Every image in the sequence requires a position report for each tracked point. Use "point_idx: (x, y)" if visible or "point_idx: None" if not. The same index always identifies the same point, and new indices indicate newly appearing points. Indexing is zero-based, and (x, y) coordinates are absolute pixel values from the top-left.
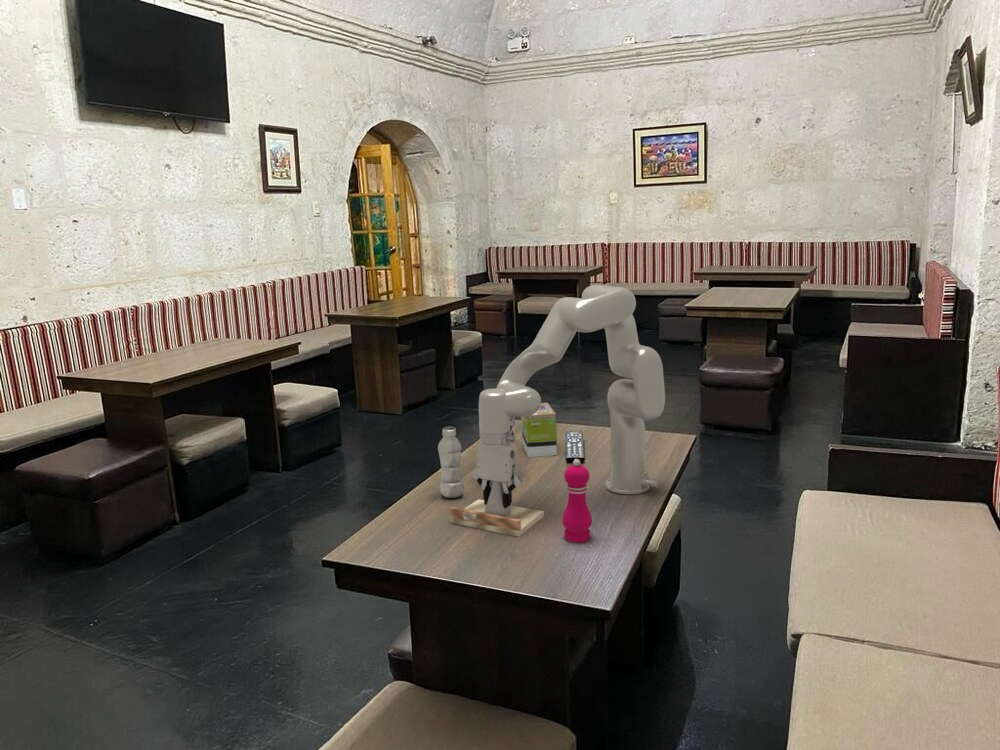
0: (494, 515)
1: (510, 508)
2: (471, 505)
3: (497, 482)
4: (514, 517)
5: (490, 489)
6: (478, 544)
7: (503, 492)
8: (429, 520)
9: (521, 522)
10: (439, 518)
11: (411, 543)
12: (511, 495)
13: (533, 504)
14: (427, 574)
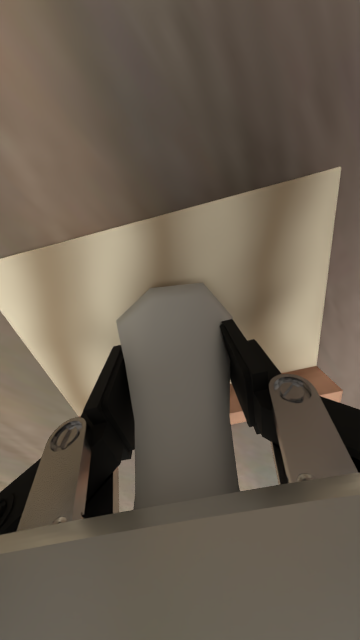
0: (236, 415)
1: (225, 314)
2: (29, 335)
3: None
4: (248, 315)
5: (117, 416)
6: (236, 432)
7: (229, 401)
8: (40, 428)
9: (294, 329)
10: (42, 410)
11: (128, 485)
12: (273, 364)
13: (179, 25)
14: None
